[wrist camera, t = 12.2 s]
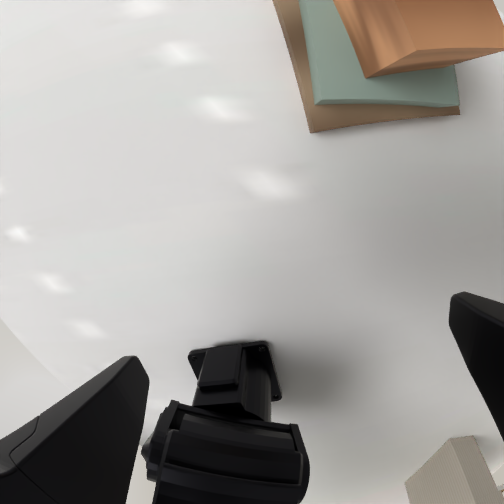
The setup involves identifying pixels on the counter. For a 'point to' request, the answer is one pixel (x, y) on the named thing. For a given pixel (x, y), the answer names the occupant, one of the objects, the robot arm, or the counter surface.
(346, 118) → the tower base
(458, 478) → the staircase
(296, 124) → the counter surface
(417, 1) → the block
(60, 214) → the counter surface
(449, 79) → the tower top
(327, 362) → the counter surface
